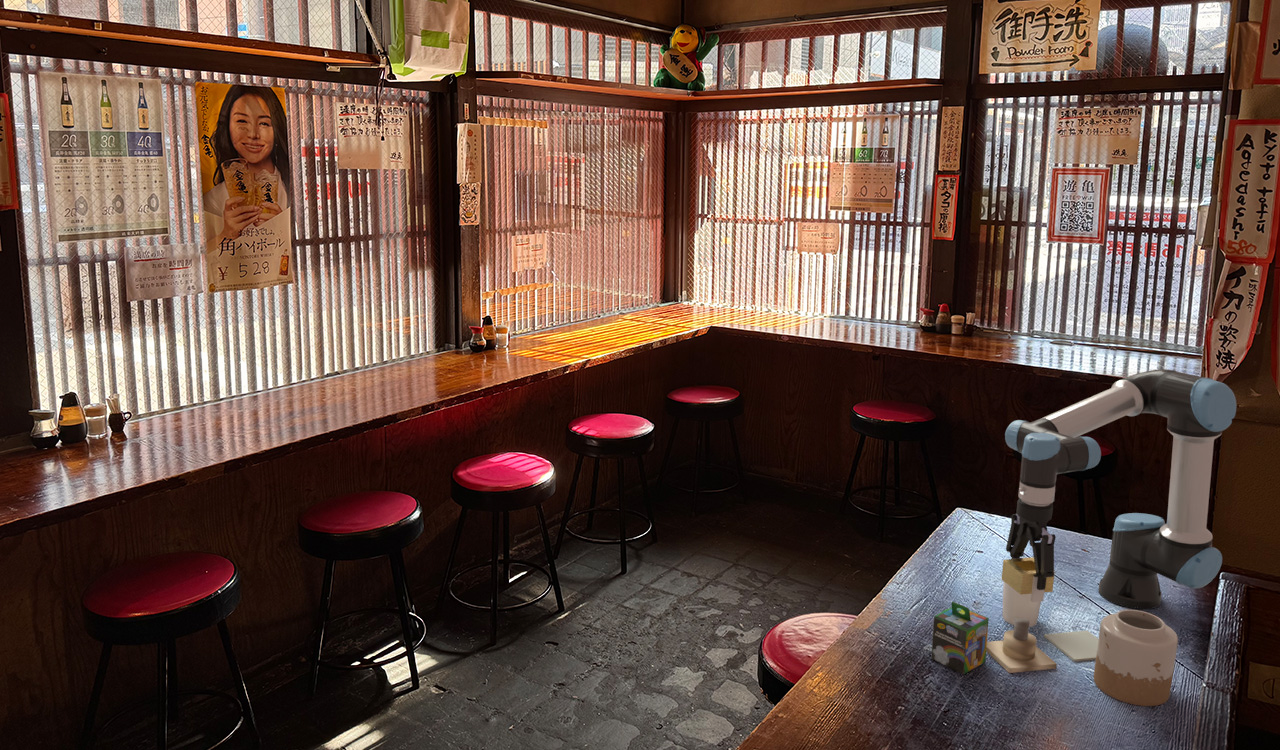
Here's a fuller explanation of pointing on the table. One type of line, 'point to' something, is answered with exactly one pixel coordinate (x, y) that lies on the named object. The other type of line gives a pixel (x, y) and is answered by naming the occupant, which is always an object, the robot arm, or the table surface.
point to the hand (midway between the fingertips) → (1025, 592)
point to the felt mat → (1075, 644)
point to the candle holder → (1019, 606)
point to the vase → (1135, 658)
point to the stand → (1019, 650)
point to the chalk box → (960, 638)
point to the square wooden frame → (1022, 575)
